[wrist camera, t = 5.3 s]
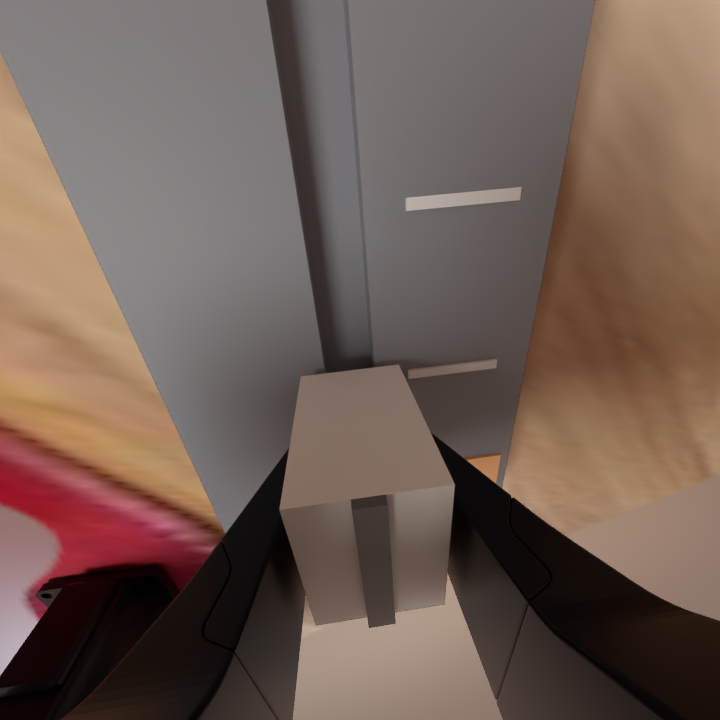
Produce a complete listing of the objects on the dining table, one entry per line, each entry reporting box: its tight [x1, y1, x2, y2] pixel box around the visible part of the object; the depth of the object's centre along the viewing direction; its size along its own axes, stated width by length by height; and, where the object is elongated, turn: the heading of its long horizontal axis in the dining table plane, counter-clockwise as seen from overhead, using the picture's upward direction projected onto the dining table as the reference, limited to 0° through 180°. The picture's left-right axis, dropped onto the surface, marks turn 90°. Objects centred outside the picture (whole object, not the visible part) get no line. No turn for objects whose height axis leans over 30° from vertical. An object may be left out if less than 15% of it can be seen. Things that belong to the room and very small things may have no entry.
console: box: [0, 0, 595, 534], centre depth 10 cm, size 20×12×3 cm, turn 5°
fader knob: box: [279, 365, 455, 628], centre depth 8 cm, size 4×3×6 cm
